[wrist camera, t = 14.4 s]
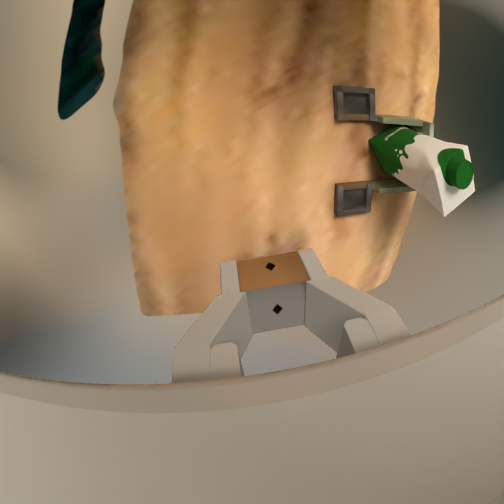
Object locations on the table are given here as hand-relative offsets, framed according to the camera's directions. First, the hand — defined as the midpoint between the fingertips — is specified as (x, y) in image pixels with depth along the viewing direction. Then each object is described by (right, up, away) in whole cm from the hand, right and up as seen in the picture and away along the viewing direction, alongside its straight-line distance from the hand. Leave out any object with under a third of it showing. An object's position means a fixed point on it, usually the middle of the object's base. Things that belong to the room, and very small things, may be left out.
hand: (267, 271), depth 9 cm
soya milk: (+24, +20, +34) cm, 46 cm away
